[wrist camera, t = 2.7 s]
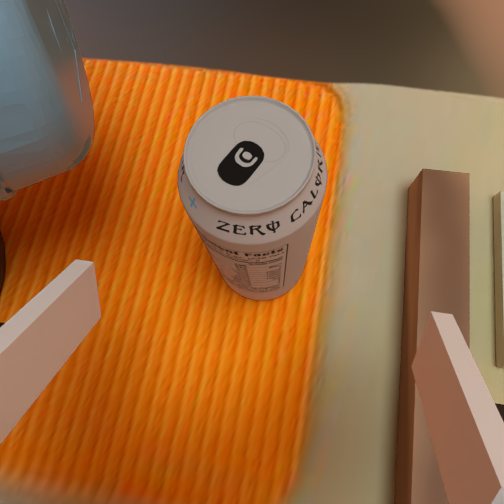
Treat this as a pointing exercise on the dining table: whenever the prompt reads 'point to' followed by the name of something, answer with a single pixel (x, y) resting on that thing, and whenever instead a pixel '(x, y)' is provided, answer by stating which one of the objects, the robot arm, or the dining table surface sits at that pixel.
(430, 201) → the walnut sill
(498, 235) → the keeper plate
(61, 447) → the dining table surface
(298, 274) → the energy drink can
